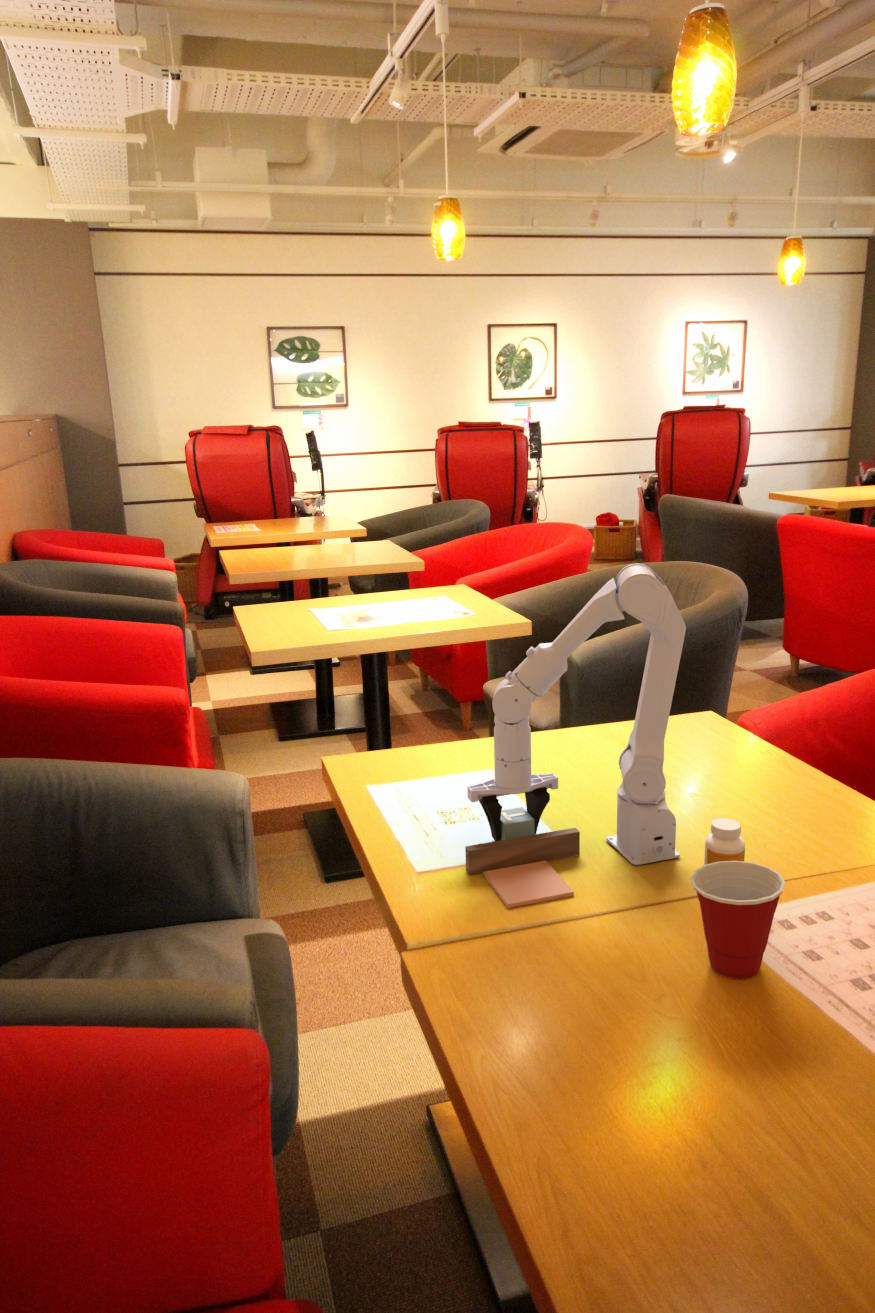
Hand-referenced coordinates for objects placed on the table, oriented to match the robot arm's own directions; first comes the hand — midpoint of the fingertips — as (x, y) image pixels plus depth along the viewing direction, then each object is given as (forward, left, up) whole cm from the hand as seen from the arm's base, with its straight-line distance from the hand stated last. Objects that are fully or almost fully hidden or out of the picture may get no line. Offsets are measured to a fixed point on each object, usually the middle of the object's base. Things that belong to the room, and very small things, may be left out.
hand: (513, 835), depth 145 cm
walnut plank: (-6, +1, -1) cm, 7 cm away
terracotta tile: (-13, +3, -1) cm, 13 cm away
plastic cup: (-40, -13, -2) cm, 42 cm away
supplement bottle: (-23, -23, -2) cm, 33 cm away
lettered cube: (0, 0, -2) cm, 2 cm away
